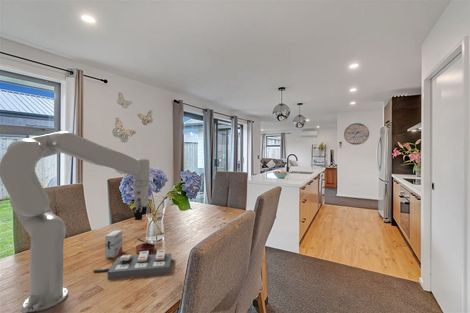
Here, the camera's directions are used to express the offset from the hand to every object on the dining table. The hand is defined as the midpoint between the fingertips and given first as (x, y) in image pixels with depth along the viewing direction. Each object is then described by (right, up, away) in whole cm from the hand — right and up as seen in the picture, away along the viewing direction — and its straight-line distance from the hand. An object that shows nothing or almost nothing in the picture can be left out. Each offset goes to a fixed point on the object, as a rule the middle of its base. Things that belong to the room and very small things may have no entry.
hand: (140, 217), depth 110 cm
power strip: (-1, -23, -6) cm, 24 cm away
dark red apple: (-3, -23, +13) cm, 27 cm away
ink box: (-18, -23, +8) cm, 31 cm away
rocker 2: (+3, -18, -3) cm, 19 cm away
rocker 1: (-5, -18, -5) cm, 20 cm away
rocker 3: (+10, -19, -2) cm, 21 cm away
